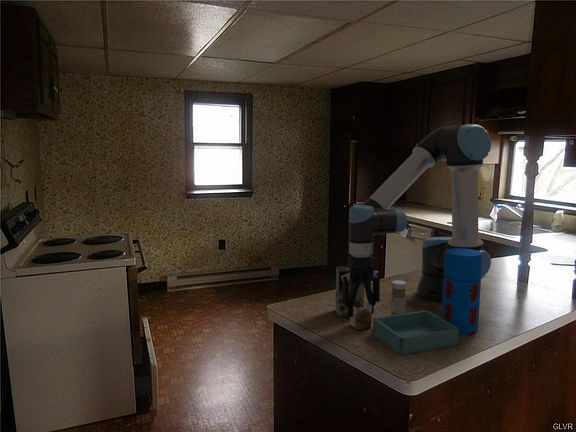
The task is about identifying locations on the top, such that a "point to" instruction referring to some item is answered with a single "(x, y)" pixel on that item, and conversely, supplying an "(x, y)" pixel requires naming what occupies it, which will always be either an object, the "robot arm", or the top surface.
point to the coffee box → (359, 300)
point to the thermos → (462, 289)
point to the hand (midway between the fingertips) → (360, 324)
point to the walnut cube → (363, 318)
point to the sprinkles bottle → (398, 297)
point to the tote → (415, 332)
